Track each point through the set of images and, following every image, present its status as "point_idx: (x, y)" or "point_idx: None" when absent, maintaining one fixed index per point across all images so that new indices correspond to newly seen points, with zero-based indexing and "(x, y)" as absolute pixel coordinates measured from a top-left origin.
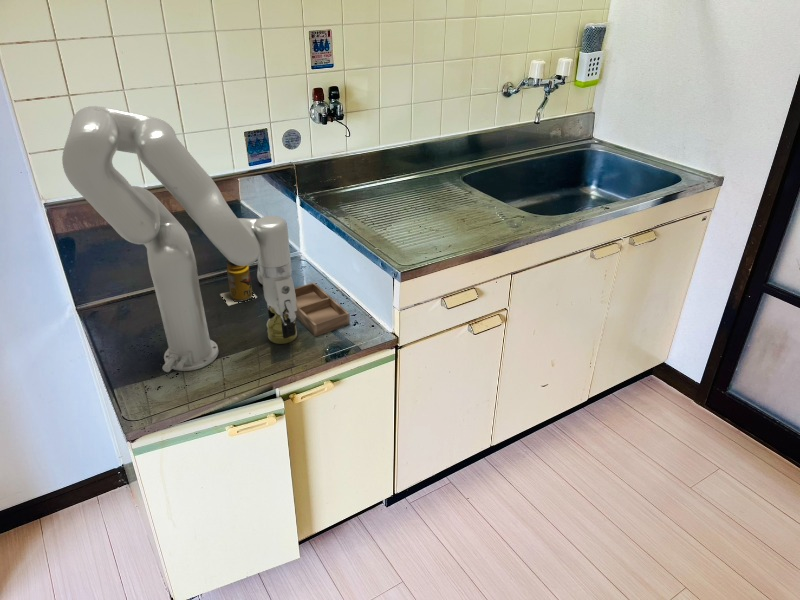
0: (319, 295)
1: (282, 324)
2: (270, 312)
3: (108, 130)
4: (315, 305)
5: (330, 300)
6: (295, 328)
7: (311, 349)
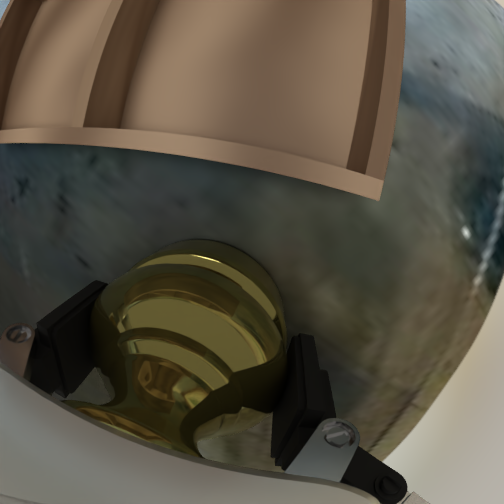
0: None
1: (280, 463)
2: (74, 385)
3: None
4: (128, 18)
5: None
6: (247, 283)
7: (412, 288)
